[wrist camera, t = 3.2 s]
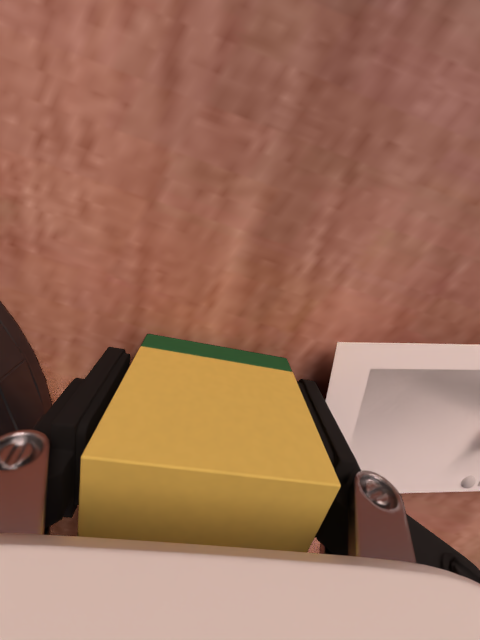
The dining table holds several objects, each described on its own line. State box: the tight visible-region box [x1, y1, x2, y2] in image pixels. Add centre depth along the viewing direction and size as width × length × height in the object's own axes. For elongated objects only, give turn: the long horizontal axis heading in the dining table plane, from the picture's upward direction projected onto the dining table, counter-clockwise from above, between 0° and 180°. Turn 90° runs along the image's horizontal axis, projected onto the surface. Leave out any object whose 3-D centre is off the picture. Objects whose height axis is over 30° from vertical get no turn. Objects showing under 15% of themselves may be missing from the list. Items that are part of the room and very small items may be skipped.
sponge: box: [78, 334, 341, 553], centre depth 9 cm, size 4×6×6 cm
